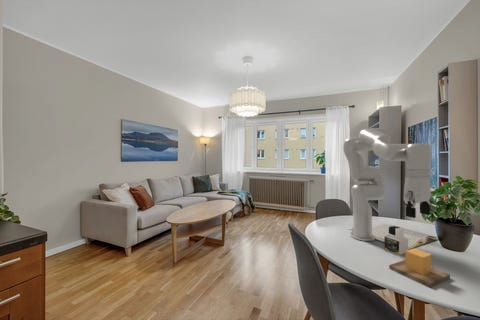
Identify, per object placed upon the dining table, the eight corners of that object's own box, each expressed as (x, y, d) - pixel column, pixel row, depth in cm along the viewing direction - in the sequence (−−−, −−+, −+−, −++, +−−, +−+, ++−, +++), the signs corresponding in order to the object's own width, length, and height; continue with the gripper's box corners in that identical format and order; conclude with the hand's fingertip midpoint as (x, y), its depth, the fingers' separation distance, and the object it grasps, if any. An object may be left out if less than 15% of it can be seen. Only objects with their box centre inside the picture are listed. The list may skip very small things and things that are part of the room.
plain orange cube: (405, 267, 86) (405, 251, 86) (414, 264, 88) (414, 248, 88) (422, 275, 80) (422, 257, 80) (431, 271, 83) (431, 254, 83)
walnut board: (389, 268, 88) (389, 254, 88) (409, 261, 94) (409, 248, 93) (429, 287, 75) (429, 271, 75) (450, 278, 81) (450, 263, 81)
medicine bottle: (384, 249, 106) (384, 226, 106) (393, 246, 109) (393, 224, 109) (399, 255, 100) (398, 230, 99) (408, 252, 102) (408, 228, 102)
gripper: (419, 172, 91) (419, 210, 91) (394, 174, 84) (394, 215, 84) (441, 173, 84) (441, 215, 84) (416, 175, 77) (416, 221, 77)
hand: (417, 215), depth 84 cm, fingers open, 9 cm apart
